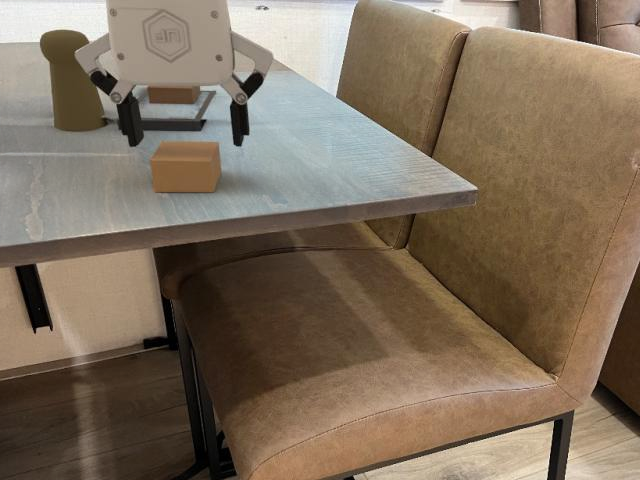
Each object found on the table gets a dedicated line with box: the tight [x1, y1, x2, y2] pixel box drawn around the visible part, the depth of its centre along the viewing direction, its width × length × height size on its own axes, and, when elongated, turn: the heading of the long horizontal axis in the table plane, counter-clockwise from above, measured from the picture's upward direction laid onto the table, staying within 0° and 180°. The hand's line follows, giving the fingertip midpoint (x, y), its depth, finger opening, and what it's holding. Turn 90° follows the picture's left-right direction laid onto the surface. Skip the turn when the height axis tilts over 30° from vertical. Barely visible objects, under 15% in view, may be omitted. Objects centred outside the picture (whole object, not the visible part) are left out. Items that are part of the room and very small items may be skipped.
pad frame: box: [116, 88, 217, 132], centre depth 83 cm, size 10×16×2 cm, turn 7°
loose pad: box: [149, 140, 222, 193], centre depth 63 cm, size 6×6×3 cm
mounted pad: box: [146, 86, 202, 105], centre depth 86 cm, size 6×6×3 cm
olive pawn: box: [39, 29, 109, 133], centre depth 75 cm, size 6×6×11 cm
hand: (188, 142), depth 62 cm, fingers open, 9 cm apart
